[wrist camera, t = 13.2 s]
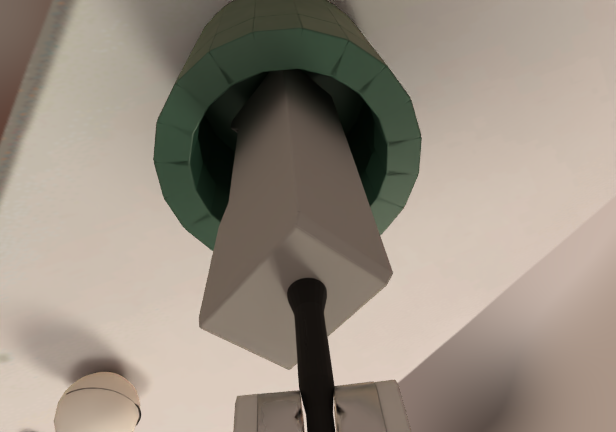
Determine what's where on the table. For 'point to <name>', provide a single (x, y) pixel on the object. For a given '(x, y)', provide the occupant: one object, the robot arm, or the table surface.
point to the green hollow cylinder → (246, 79)
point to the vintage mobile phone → (293, 238)
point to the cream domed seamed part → (98, 405)
